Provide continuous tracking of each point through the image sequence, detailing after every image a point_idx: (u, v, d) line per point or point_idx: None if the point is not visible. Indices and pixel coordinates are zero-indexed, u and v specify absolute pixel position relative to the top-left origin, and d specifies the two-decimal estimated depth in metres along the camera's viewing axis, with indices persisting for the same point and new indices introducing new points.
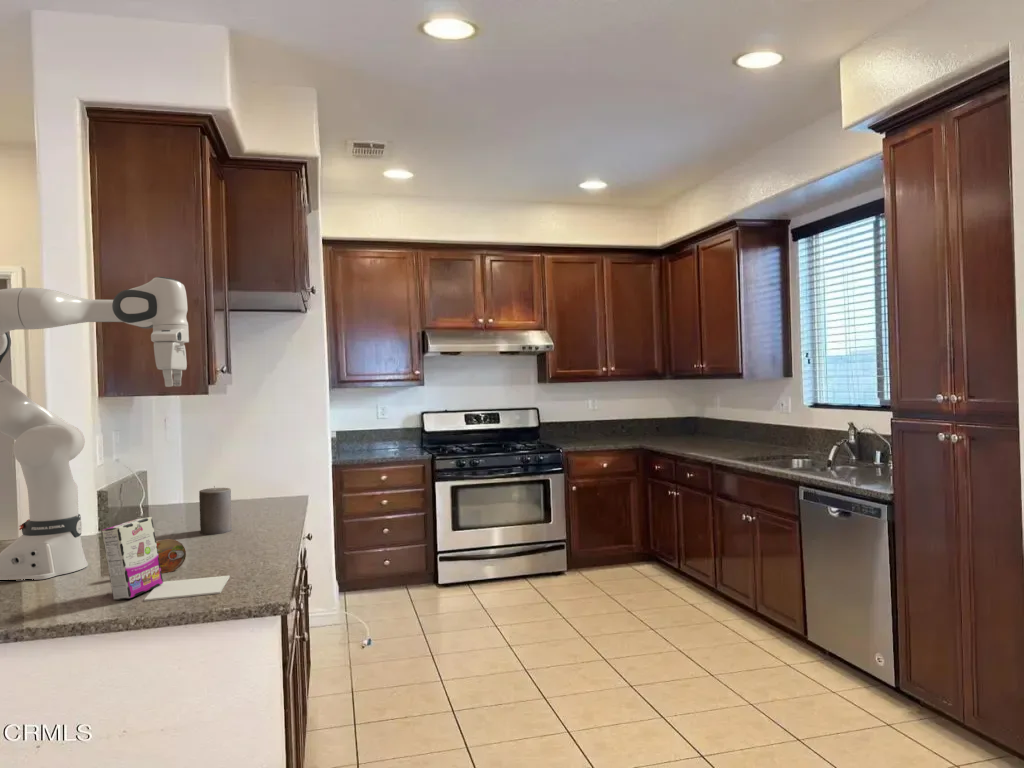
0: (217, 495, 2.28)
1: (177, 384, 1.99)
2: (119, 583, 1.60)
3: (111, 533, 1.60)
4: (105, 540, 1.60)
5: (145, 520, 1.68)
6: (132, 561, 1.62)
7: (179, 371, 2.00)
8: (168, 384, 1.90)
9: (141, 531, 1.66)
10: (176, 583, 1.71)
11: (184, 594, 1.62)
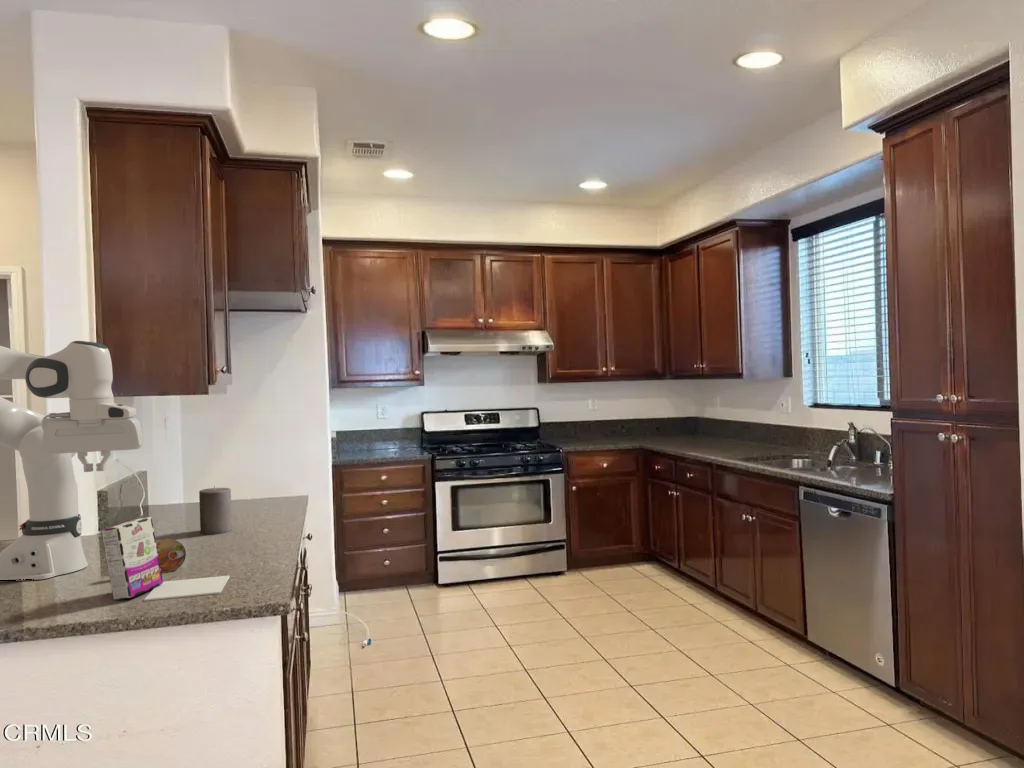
0: (217, 495, 2.28)
1: (92, 468, 1.63)
2: (119, 583, 1.60)
3: (110, 533, 1.60)
4: (105, 540, 1.60)
5: (145, 520, 1.68)
6: (132, 561, 1.62)
7: (86, 453, 1.63)
8: (104, 468, 1.63)
9: (140, 531, 1.66)
10: (176, 583, 1.71)
11: (184, 594, 1.62)
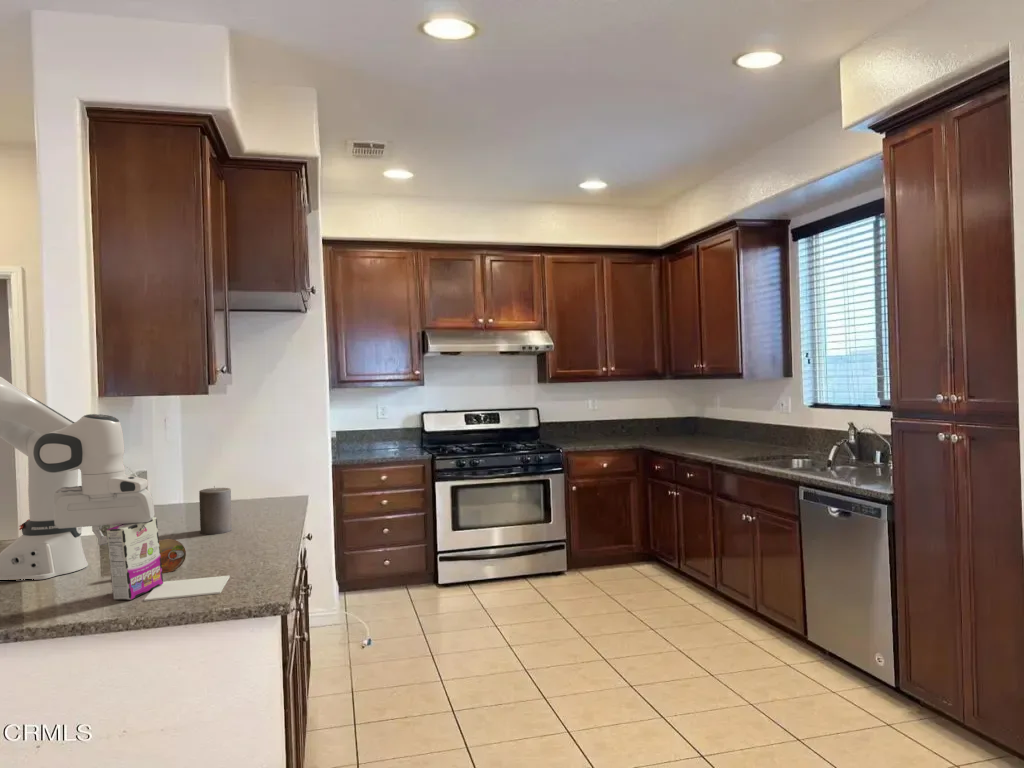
0: (217, 495, 2.28)
1: (106, 541, 1.64)
2: (120, 584, 1.60)
3: (115, 534, 1.59)
4: (109, 540, 1.60)
5: (150, 521, 1.67)
6: (134, 562, 1.61)
7: (101, 525, 1.64)
8: None
9: (145, 532, 1.65)
10: (176, 583, 1.71)
11: (184, 594, 1.62)
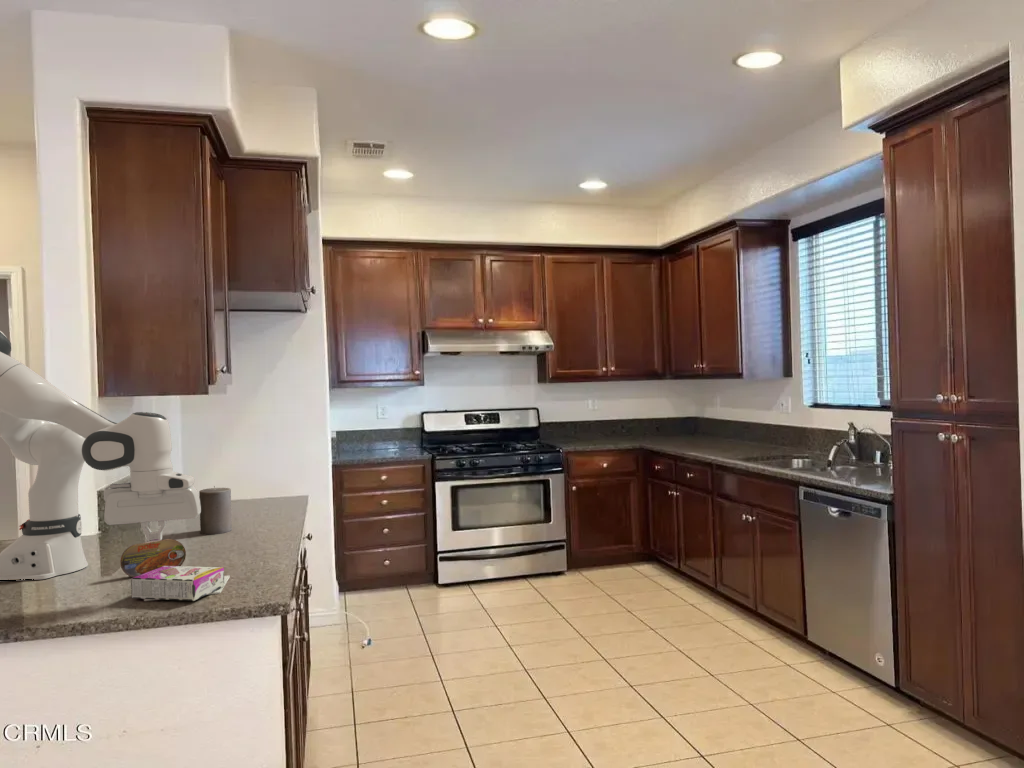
0: (217, 495, 2.28)
1: None
2: (144, 589, 1.59)
3: (189, 591, 1.56)
4: (183, 583, 1.56)
5: (217, 589, 1.64)
6: None
7: (149, 522, 1.66)
8: (161, 537, 1.66)
9: None
10: None
11: None
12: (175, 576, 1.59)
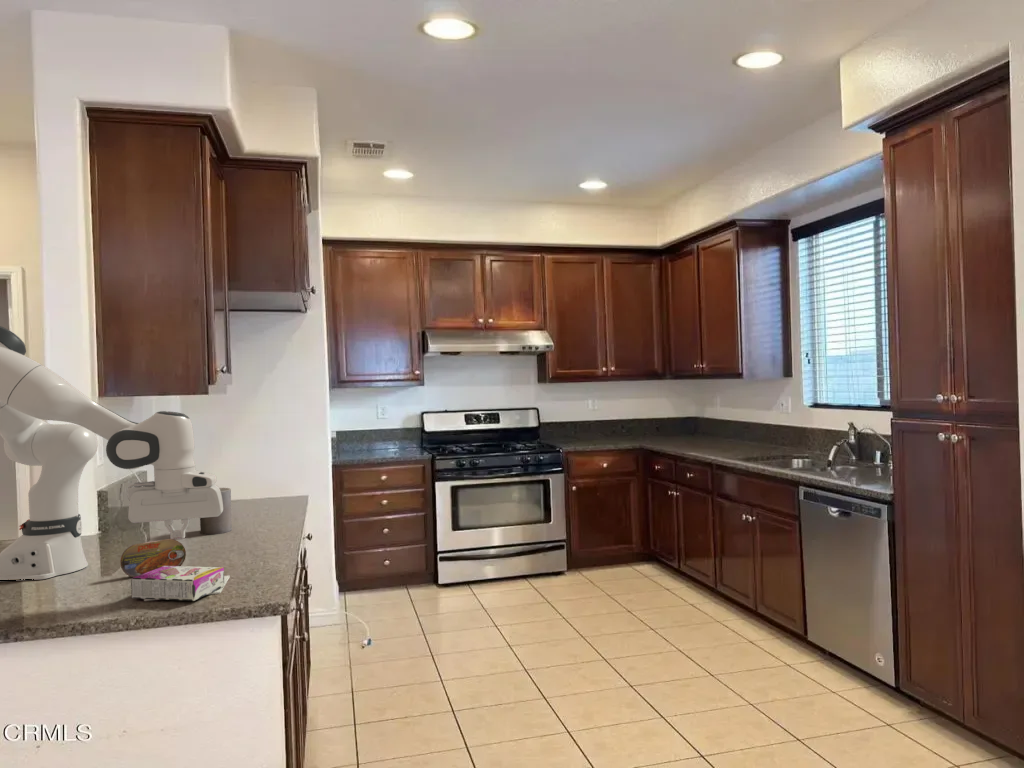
0: None
1: None
2: (144, 589, 1.59)
3: (189, 591, 1.56)
4: (183, 583, 1.56)
5: (217, 589, 1.64)
6: None
7: (172, 520, 1.67)
8: (184, 535, 1.67)
9: None
10: None
11: None
12: (175, 576, 1.59)
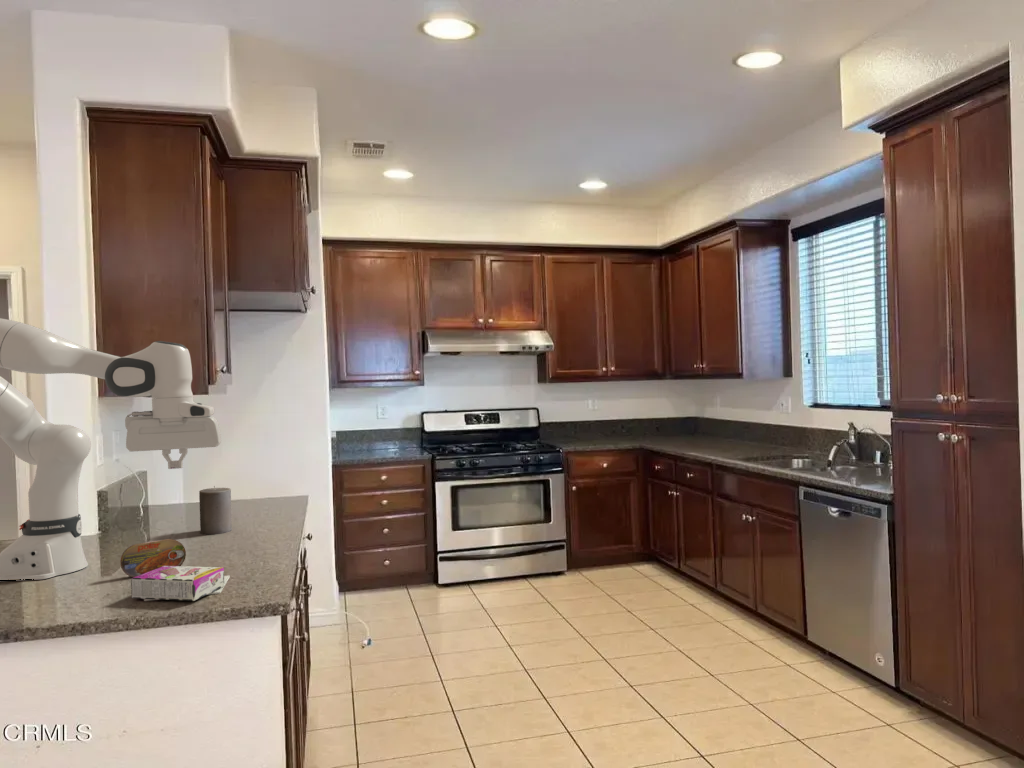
0: (217, 495, 2.28)
1: None
2: (144, 589, 1.59)
3: (189, 591, 1.56)
4: (183, 583, 1.56)
5: (217, 589, 1.64)
6: None
7: (170, 450, 1.67)
8: (182, 465, 1.67)
9: None
10: None
11: None
12: (175, 576, 1.59)
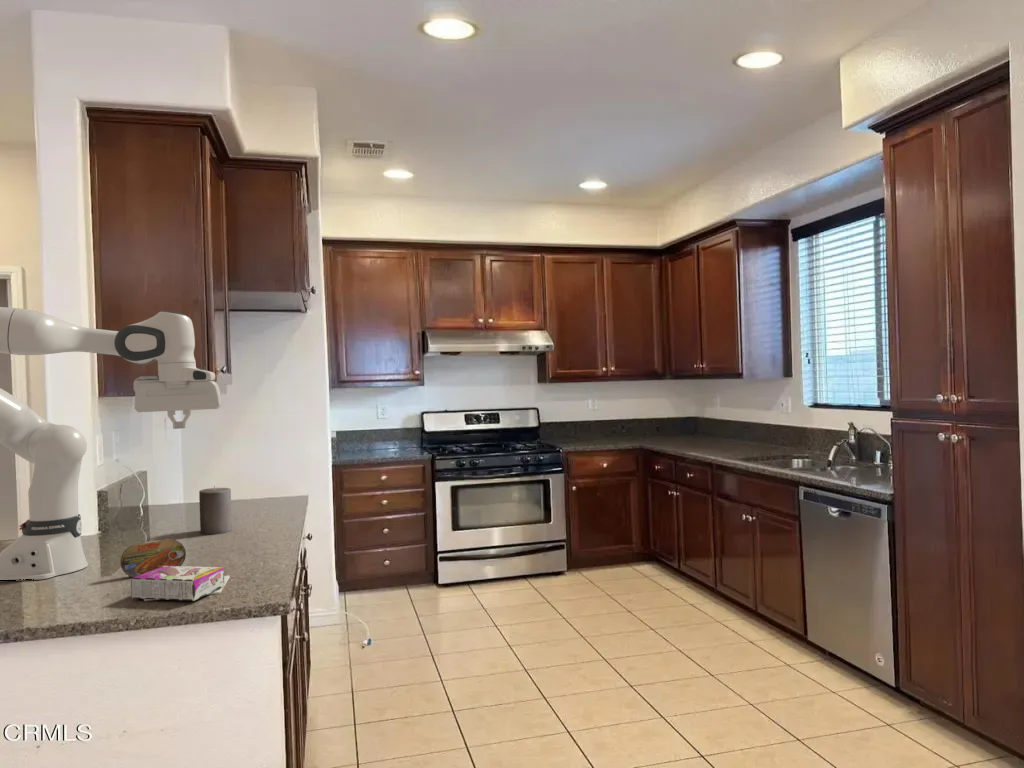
0: (217, 495, 2.28)
1: None
2: (144, 589, 1.59)
3: (189, 591, 1.56)
4: (183, 583, 1.56)
5: (217, 589, 1.64)
6: None
7: (174, 412, 1.82)
8: (185, 425, 1.82)
9: None
10: None
11: None
12: (175, 576, 1.59)
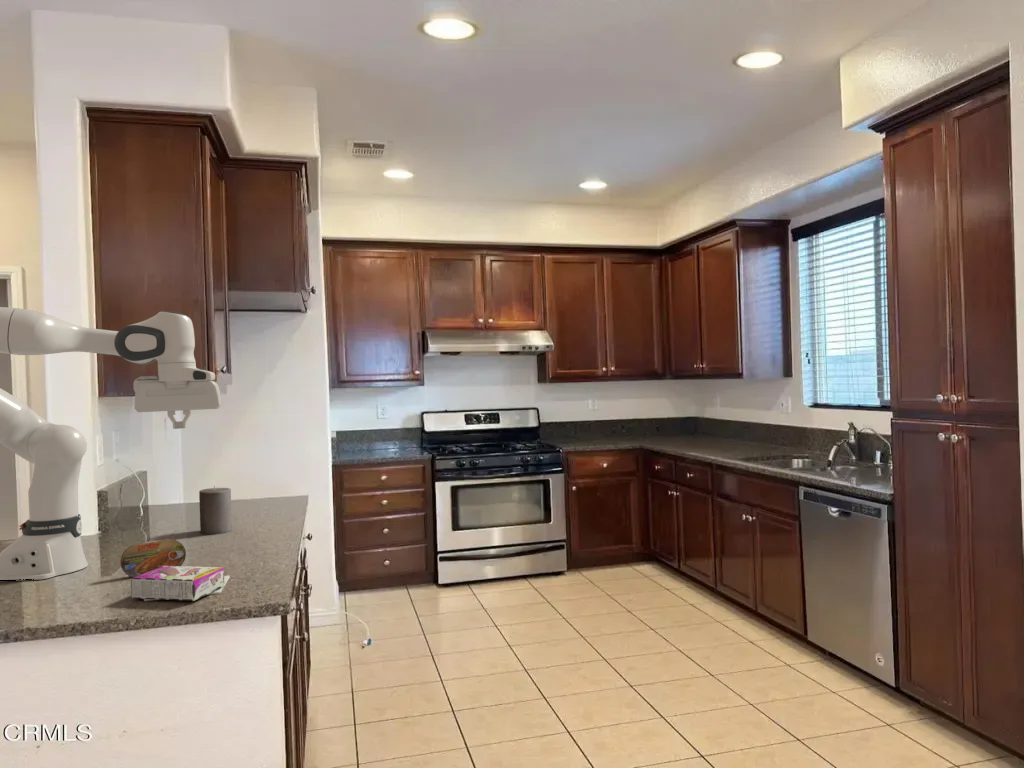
0: (217, 495, 2.28)
1: None
2: (144, 589, 1.59)
3: (189, 591, 1.56)
4: (183, 583, 1.56)
5: (217, 589, 1.64)
6: None
7: (174, 412, 1.82)
8: (185, 425, 1.82)
9: None
10: None
11: None
12: (175, 576, 1.59)
